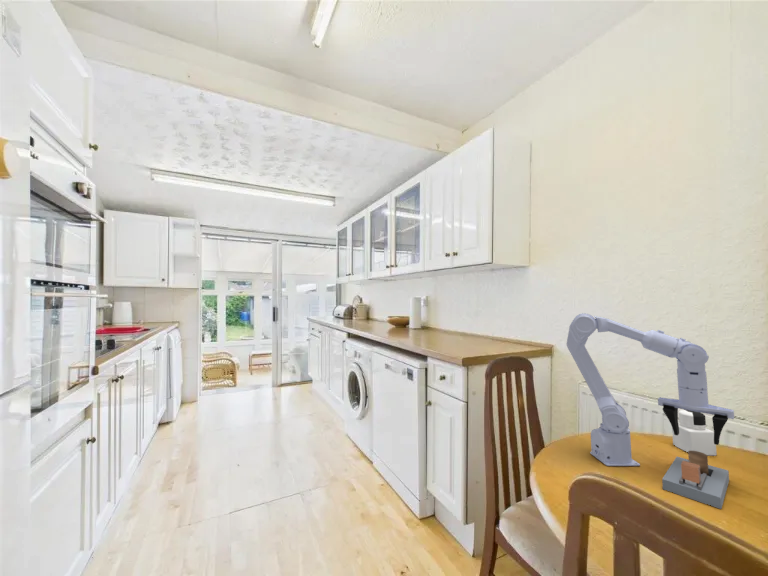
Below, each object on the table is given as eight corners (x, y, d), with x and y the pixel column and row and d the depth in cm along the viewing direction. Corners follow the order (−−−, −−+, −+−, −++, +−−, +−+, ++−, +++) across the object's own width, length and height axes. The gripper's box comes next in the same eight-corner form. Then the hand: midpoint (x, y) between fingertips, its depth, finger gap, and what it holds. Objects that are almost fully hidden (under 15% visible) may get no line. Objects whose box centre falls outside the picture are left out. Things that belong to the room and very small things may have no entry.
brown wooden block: (698, 482, 81) (696, 457, 81) (686, 475, 84) (684, 450, 85) (713, 482, 81) (711, 457, 81) (699, 475, 84) (698, 450, 85)
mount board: (721, 509, 70) (720, 494, 71) (662, 489, 78) (661, 475, 78) (729, 480, 82) (728, 467, 82) (677, 465, 89) (676, 453, 90)
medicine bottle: (696, 445, 101) (693, 407, 102) (717, 456, 94) (714, 415, 95) (672, 444, 102) (670, 407, 103) (691, 455, 95) (688, 415, 96)
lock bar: (699, 488, 74) (698, 468, 74) (682, 482, 77) (681, 463, 77) (704, 477, 79) (702, 459, 79) (687, 472, 81) (686, 454, 81)
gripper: (733, 390, 82) (738, 443, 81) (661, 380, 93) (664, 426, 92) (730, 395, 77) (735, 451, 77) (654, 384, 89) (657, 433, 88)
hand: (696, 438), depth 84 cm, fingers open, 7 cm apart
